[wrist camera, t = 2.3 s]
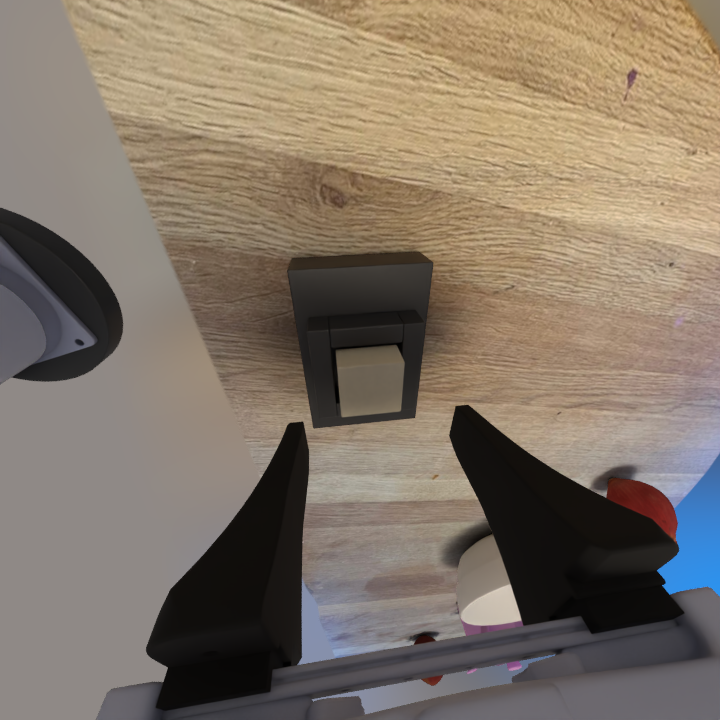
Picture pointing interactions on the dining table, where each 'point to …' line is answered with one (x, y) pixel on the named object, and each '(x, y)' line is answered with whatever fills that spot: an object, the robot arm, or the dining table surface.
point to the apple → (426, 639)
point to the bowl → (485, 586)
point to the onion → (644, 502)
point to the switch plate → (359, 322)
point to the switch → (370, 380)
